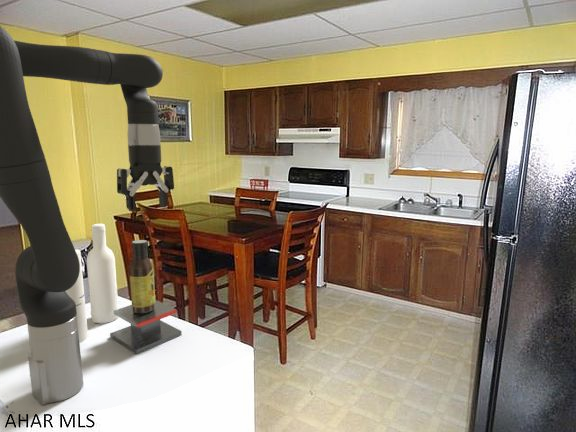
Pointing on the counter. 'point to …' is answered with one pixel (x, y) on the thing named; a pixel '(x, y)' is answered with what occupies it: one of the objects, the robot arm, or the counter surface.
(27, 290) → the robot arm
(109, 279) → the bottle
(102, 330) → the counter surface
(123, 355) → the counter surface
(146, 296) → the sauce bottle
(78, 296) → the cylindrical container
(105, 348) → the counter surface
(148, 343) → the grey piece
